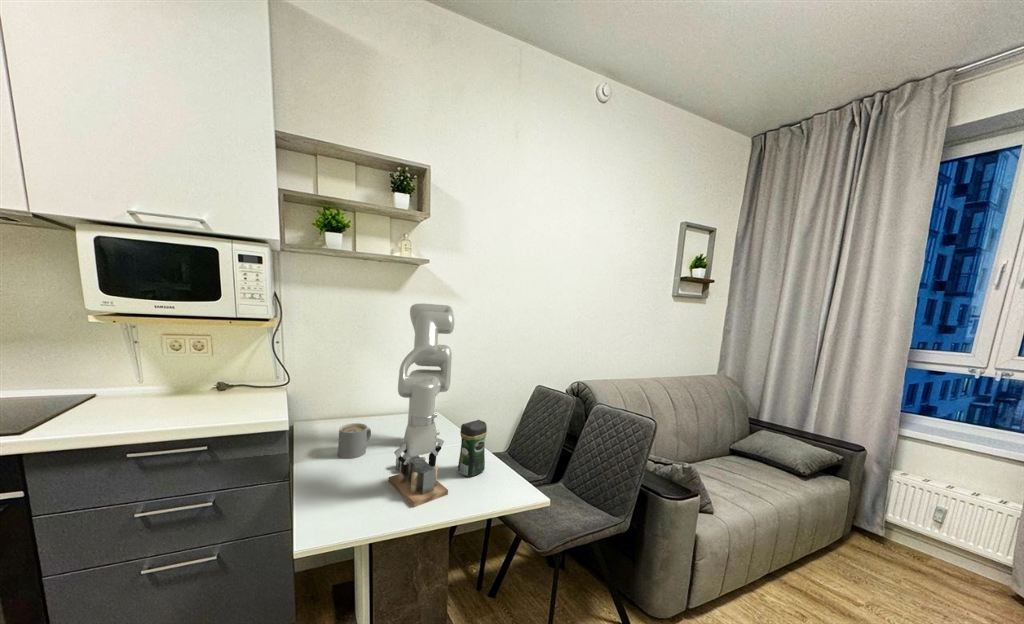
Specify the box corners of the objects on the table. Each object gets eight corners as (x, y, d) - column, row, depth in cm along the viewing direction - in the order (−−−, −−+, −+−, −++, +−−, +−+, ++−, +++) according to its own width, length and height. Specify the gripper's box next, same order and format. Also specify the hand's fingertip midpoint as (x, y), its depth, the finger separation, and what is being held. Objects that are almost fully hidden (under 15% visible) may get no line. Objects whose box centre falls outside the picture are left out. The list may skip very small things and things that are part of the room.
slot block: (410, 463, 132) (411, 447, 132) (417, 468, 128) (418, 452, 128) (395, 467, 128) (396, 451, 128) (402, 473, 124) (403, 456, 124)
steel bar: (413, 472, 122) (414, 452, 122) (433, 490, 112) (435, 469, 112) (402, 475, 119) (404, 455, 119) (422, 494, 109) (424, 472, 109)
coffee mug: (345, 461, 130) (347, 434, 129) (332, 452, 135) (334, 427, 135) (378, 450, 140) (380, 426, 140) (365, 443, 146) (366, 419, 146)
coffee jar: (473, 463, 135) (476, 416, 135) (487, 471, 130) (491, 422, 129) (453, 471, 128) (457, 421, 128) (467, 480, 123) (471, 428, 122)
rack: (420, 471, 126) (422, 451, 126) (447, 494, 113) (449, 471, 113) (388, 481, 118) (389, 459, 118) (413, 507, 105) (415, 482, 105)
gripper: (439, 411, 123) (435, 459, 124) (391, 420, 112) (388, 473, 112) (450, 418, 118) (447, 468, 119) (402, 428, 106) (398, 483, 107)
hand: (418, 470), depth 115 cm, fingers open, 9 cm apart
